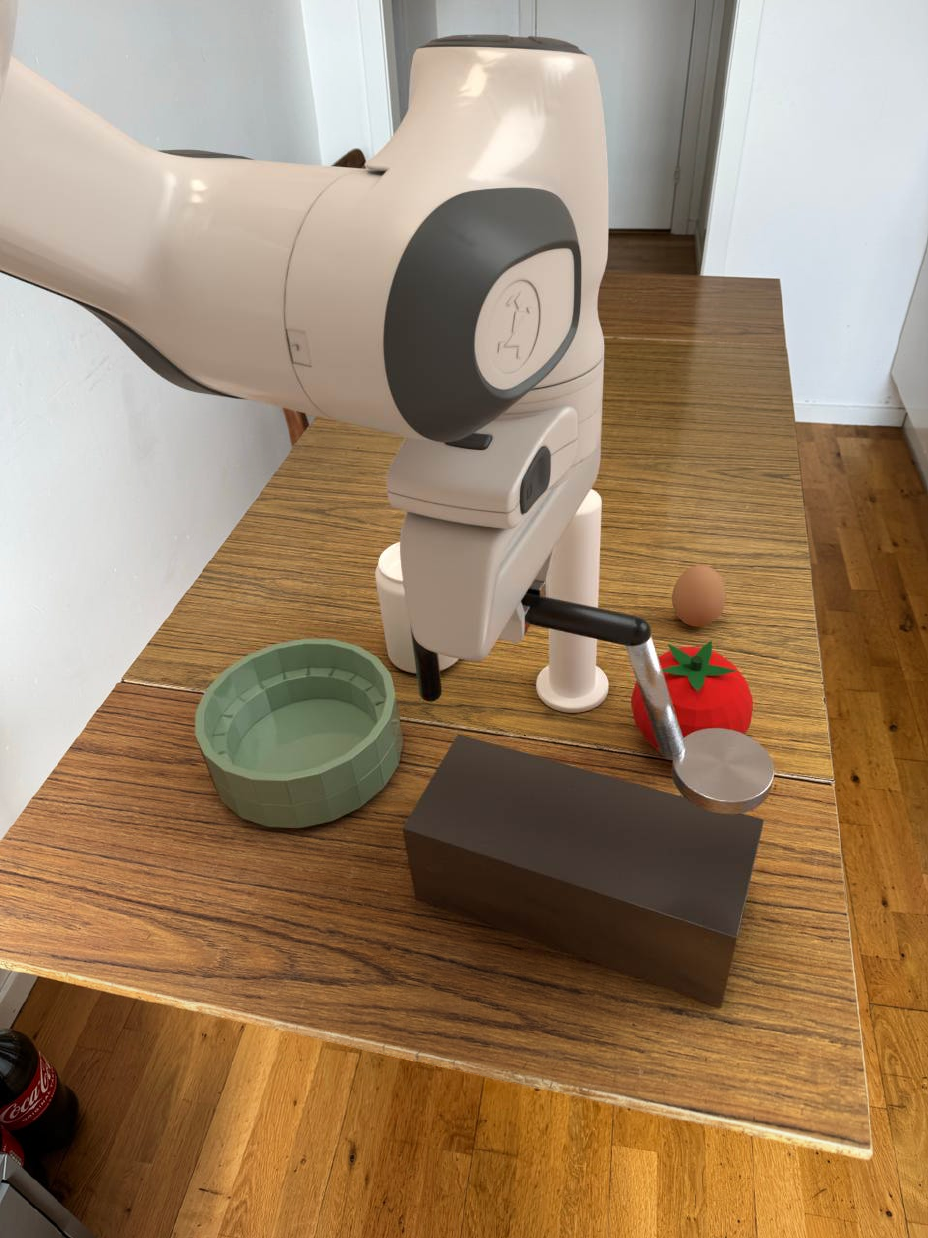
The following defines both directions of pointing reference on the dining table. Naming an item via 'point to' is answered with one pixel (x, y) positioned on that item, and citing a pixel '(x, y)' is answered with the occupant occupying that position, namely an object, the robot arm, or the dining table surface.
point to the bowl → (300, 732)
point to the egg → (699, 596)
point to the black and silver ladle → (650, 710)
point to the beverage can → (398, 612)
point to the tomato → (699, 693)
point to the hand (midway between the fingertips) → (521, 618)
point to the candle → (576, 580)
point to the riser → (585, 864)
